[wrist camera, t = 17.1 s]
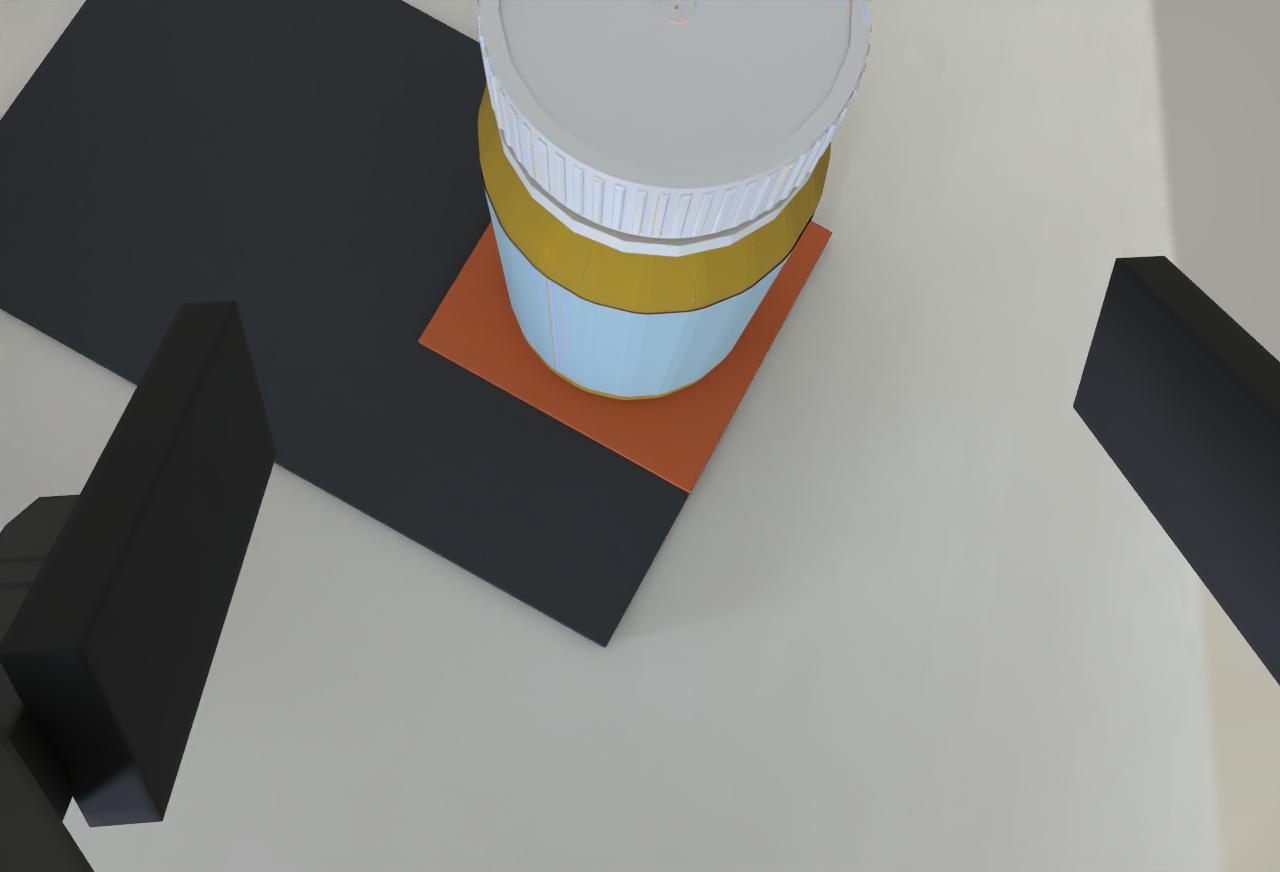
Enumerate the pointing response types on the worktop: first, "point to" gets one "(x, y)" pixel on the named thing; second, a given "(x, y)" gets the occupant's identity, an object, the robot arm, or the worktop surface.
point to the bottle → (655, 170)
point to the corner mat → (347, 279)
